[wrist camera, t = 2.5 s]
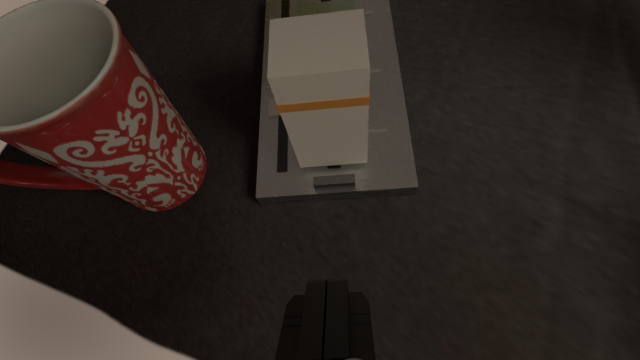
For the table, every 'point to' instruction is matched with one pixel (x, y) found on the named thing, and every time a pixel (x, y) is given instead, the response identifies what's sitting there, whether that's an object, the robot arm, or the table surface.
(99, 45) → the mug
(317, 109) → the fader knob
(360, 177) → the console
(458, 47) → the table surface
